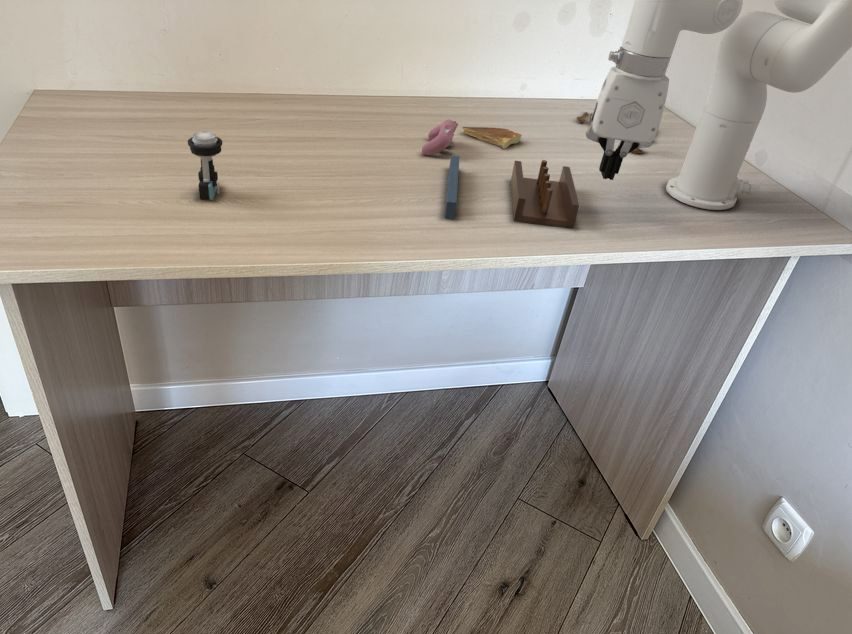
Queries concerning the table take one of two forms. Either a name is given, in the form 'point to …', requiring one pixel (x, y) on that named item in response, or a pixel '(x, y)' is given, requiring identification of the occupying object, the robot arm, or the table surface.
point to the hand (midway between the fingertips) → (606, 176)
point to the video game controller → (440, 137)
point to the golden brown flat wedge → (494, 135)
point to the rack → (544, 197)
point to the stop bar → (452, 187)
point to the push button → (206, 161)
